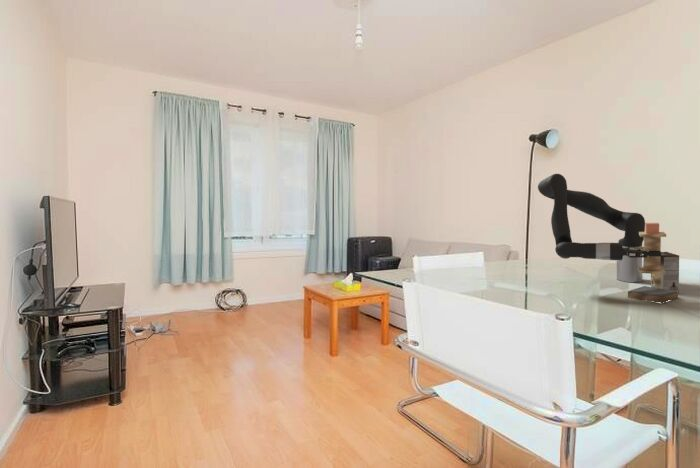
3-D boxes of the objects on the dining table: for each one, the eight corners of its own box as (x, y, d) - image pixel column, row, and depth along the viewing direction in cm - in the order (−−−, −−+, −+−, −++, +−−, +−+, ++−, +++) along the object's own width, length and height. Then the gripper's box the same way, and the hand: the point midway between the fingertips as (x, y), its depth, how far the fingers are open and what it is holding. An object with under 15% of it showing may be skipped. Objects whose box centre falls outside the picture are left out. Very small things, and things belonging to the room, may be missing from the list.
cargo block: (646, 233, 148) (646, 223, 147) (645, 232, 151) (645, 222, 151) (659, 233, 145) (659, 223, 145) (657, 232, 149) (658, 222, 148)
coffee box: (649, 287, 165) (649, 252, 164) (666, 286, 164) (666, 251, 163) (662, 292, 157) (662, 255, 155) (680, 292, 155) (680, 255, 154)
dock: (627, 297, 154) (627, 290, 154) (643, 292, 159) (643, 285, 159) (661, 304, 143) (661, 296, 143) (677, 298, 148) (677, 291, 148)
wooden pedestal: (639, 273, 149) (640, 234, 147) (638, 269, 155) (638, 231, 154) (665, 274, 144) (666, 234, 143) (663, 270, 151) (663, 231, 149)
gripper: (609, 245, 151) (662, 246, 141) (608, 240, 163) (658, 240, 153) (608, 263, 152) (662, 265, 142) (608, 257, 163) (658, 258, 154)
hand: (660, 252), depth 148 cm, fingers closed on wooden pedestal, 5 cm apart
